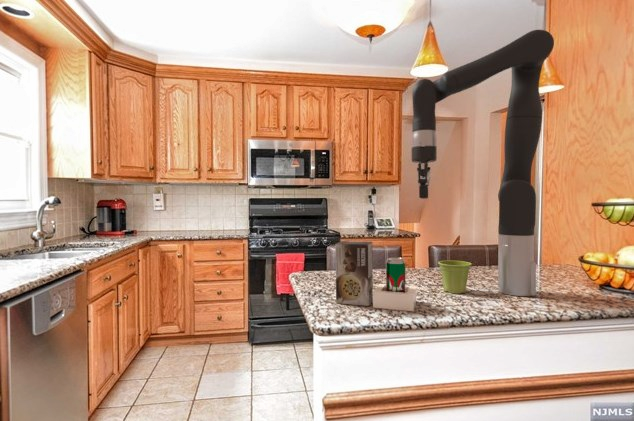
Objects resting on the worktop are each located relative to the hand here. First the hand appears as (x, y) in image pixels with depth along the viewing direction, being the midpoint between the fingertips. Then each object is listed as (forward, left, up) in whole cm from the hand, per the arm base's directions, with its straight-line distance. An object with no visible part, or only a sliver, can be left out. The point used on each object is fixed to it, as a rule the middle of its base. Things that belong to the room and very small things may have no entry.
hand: (423, 198), depth 113 cm
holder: (+6, +22, -28) cm, 36 cm away
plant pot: (-9, +2, -28) cm, 30 cm away
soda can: (+6, +22, -28) cm, 36 cm away
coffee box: (+17, +23, -28) cm, 40 cm away
